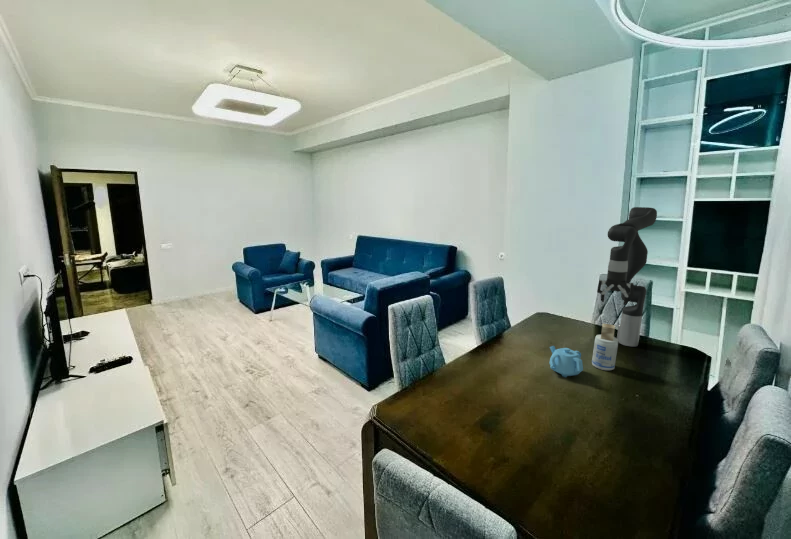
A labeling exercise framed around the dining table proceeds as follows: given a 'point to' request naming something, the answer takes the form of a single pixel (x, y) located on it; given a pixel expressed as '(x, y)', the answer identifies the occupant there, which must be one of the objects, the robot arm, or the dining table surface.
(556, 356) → the teapot
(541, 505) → the dining table surface
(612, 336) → the maple block
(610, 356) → the supplement tub
